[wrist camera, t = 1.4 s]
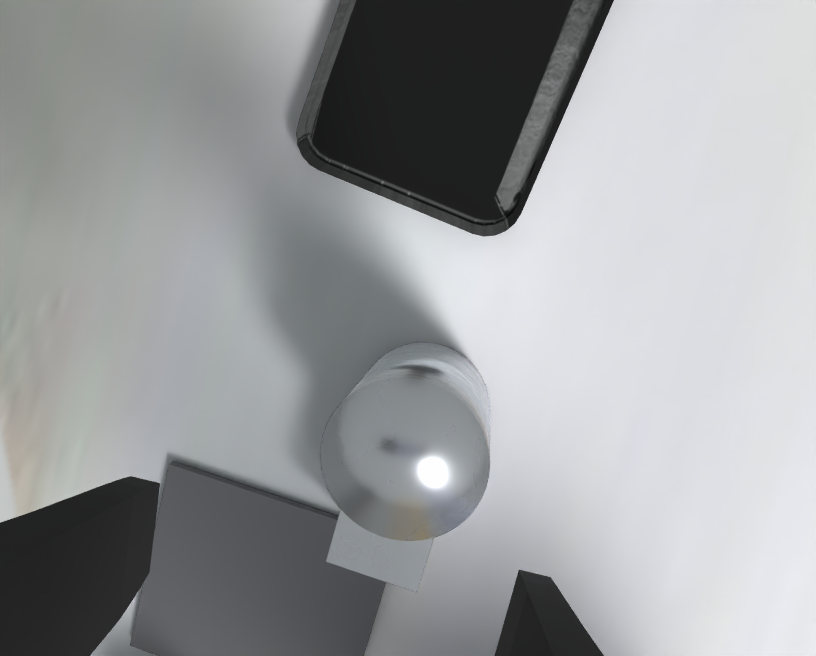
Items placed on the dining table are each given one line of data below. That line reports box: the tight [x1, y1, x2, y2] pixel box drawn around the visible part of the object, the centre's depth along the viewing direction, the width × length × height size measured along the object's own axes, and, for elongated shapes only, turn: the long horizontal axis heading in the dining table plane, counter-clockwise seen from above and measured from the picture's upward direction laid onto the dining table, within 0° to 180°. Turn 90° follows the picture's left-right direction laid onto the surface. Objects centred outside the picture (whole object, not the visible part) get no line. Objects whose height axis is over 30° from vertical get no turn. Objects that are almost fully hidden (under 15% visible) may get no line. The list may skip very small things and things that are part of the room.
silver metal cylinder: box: [320, 342, 490, 592], centre depth 19 cm, size 5×7×5 cm, turn 164°
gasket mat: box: [130, 461, 386, 656], centre depth 23 cm, size 9×8×1 cm
